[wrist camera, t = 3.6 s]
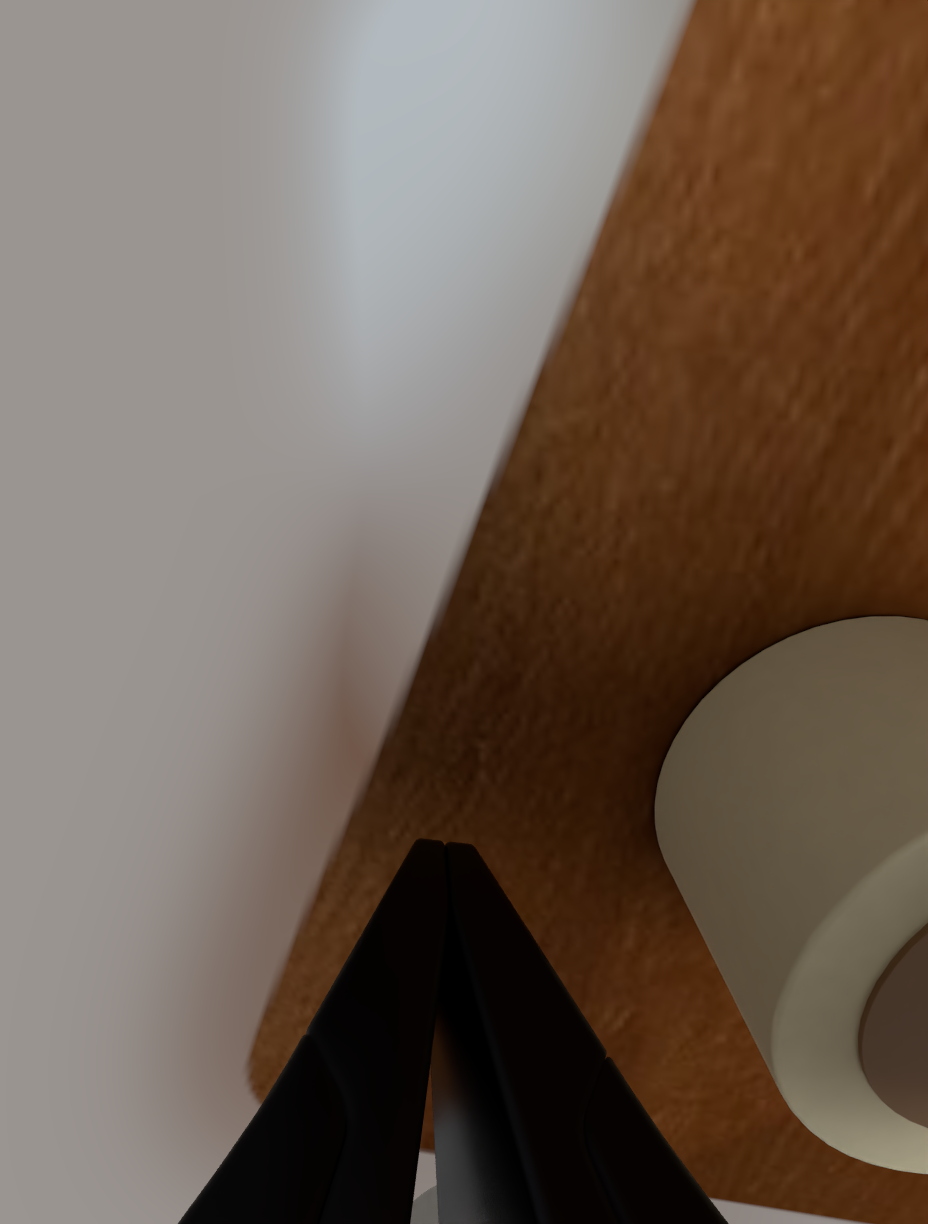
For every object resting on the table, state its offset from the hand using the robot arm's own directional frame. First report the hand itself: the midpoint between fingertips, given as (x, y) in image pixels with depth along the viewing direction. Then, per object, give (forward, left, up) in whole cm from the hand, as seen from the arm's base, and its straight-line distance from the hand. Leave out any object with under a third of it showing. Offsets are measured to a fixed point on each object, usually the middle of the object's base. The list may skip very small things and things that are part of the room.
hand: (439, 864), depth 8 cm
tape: (+1, -9, -4) cm, 9 cm away
